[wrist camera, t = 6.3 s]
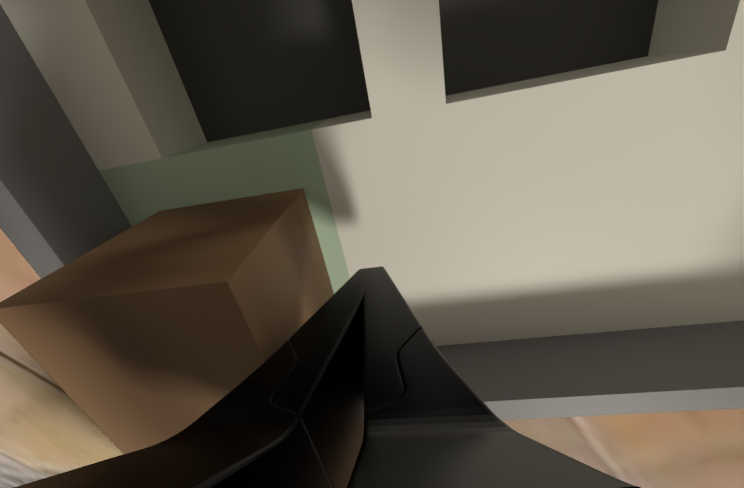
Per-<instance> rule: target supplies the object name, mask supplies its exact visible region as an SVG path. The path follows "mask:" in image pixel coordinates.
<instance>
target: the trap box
mask: <svg viewBox="0 0 744 488" xmlns="http://www.w3.org/2000/svg"><path fill="white" fill-rule="evenodd" d="M301 188H304V192H305V195H306V199H307V202H308V205H309V209H310V212H311V216H312V219H313V223H314V226H315V230H316V233H317V237H318V240H319V244H320V247H321V250H322V254H323V257H324V261H325V264H326V268H327V271H328V275H329V278H330V282H331V285H332V289H333V292H334V294H335V293H336V292H337V291H338V290H339V289H340V288H341V287H342V286H343V285H344V284H345V283H346V282H347V281H348V280H349V279H350V278H351V277H352V276H353V275H354V274H355V273H356V272H357V271H358V270H359V269H363V268H372V267H380V266H383V267H384V268H385V270H386V271H387V273H388V274H389V276H390V277H391V279H392V281H393V282H394V284H395V285H396V287H397V288H398V290H399V291H400V293H401V295H402V296H403V298H404V299H405V301H406V302H407V304H408V305H409V307H410V309H411V310H412V312H413V313H414V315H415V316H416V318H417V319H418V321H419V323H420V324H421V326H422V327H423V329H424V330H425V332H426V333H427V335H428V336H429V338H430V339H431V341H432V342H433V343H434V345H435V346H436V348H437V349H438V351H439V352H440V353H441V354H442V356H443V357H444V358H445V359H446V360H447V362H448V363H449V364H450V365H451V366H452V368H453V369H454V370H455V371H456V372H457V373H458V374H459V375H460V376H461V378H462V379H463V380H464V381H465V382H466V383H467V384H468V385H469V386H470V387H471V389H472V390H473V391H474V392H475V393H476V394H477V395H478V396H479V397H480V399H481V400H482V401H483V402H484V403H485V404H486V405H487V406H488V407H489V409H490V410H491V411H492V412H493V413H494V414H495V415H496V416H497V417H498V418H499V419H500V420H515V419H535V418H556V417H576V416H597V415H617V414H638V413H658V412H679V411H699V410H720V409H740V408H744V0H0V228H1V229H2V231H3V232H4V233H5V234H6V236H7V237H8V238H9V239H10V240H11V242H12V243H13V244H14V245H15V247H16V248H17V249H18V250H19V252H20V253H21V254H22V255H23V257H24V258H25V259H26V260H27V262H28V263H29V264H30V265H31V267H32V268H33V269H34V270H35V272H36V273H37V274H38V275H39V277H40V278H41V279H42V278H44V277H46V276H47V275H49V274H51V273H52V272H54V271H56V270H58V269H59V268H61V267H63V266H65V265H66V264H68V263H70V262H72V261H73V260H75V259H77V258H79V257H80V256H82V255H84V254H86V253H87V252H89V251H91V250H92V249H94V248H96V247H98V246H99V245H101V244H103V243H105V242H106V241H108V240H110V239H112V238H113V237H115V236H117V235H119V234H120V233H122V232H124V231H125V230H127V229H129V228H131V227H132V226H134V225H136V224H138V223H139V222H141V221H143V220H145V219H146V218H148V217H150V216H152V215H153V214H155V213H157V212H159V211H162V210H168V209H174V208H181V207H187V206H193V205H200V204H206V203H212V202H219V201H225V200H231V199H238V198H244V197H250V196H257V195H263V194H269V193H276V192H282V191H288V190H295V189H301Z"/></svg>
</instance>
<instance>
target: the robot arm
mask: <svg viewBox="0 0 744 488" xmlns="http://www.w3.org/2000/svg"><path fill="white" fill-rule="evenodd" d="M289 340H290V341H289ZM289 340H287V341H286V342H285V343H284V344H283V345H282V346H281V347H280V348H279V349H278V350H277V351H276V352H275V353H273V354H272V355H271V356H270V357H269V358H268V359H267V360H266V361H265V362H264V363H263V364H262V365H261V366H259V367H258V368H257V369H256V370H255V371H254V372H253V373H251V374H250V375H249V376H248V377H247V378H246V379H244V380H243V381H242V382H241V383H240V384H239V385H237V386H236V387H235V388H234V389H233V390H231V391H230V392H229V393H228V394H227V395H225V396H224V397H223V398H222V399H221V400H219V401H218V402H217V403H216V404H215V405H213V406H212V407H211V408H210V409H209V410H208V411H206V412H205V413H204V414H203V415H202V416H200V417H199V418H198V419H197V420H196V421H194V422H193V423H192V424H190V425H189V426H188V427H187V428H185V429H184V430H182V431H181V432H179V433H178V434H176V435H174V436H172V437H170V438H169V439H167V440H165V441H162V442H160V443H158V444H155V445H153V446H150V447H147V448H144V449H140V450H137V451H134V452H130V453H127V454H124V455H120V456H117V457H114V458H110V459H107V460H104V461H101V462H97V463H94V464H91V465H87V466H84V467H81V468H77V469H74V470H71V471H68V472H64V473H61V474H58V475H54V476H51V477H48V478H44V479H41V480H38V481H34V482H31V483H28V484H25V485H21V486H18V487H14V488H640V487H637V486H633V485H631V484H628V483H626V482H623V481H621V480H618V479H616V478H613V477H611V476H609V475H607V474H605V473H603V472H600V471H598V470H596V469H594V468H592V467H590V466H588V465H585V464H583V463H581V462H579V461H577V460H575V459H573V458H570V457H568V456H566V455H564V454H562V453H560V452H558V451H555V450H553V449H551V448H549V447H547V446H545V445H543V444H540V443H538V442H536V441H534V440H532V439H530V438H528V437H525V436H523V435H521V434H519V433H517V432H516V431H514V430H513V429H511V428H510V427H509V426H507V425H506V424H505V423H504V422H502V421H501V420H500V419H499V418H498V417H497V416H496V415H495V414H494V413H493V412H492V411H491V410H490V409H489V407H488V406H487V405H486V404H485V403H484V402H483V401H482V400H481V399H480V397H479V396H478V395H477V394H476V393H475V392H474V391H473V390H472V389H471V387H470V386H469V385H468V384H467V383H466V382H465V381H464V380H463V379H462V378H461V376H460V375H459V374H458V373H457V372H456V371H455V370H454V369H453V368H452V366H451V365H450V364H449V363H448V362H447V360H446V359H445V358H444V357H443V356H442V354H441V353H440V352H439V351H438V349H437V348H436V346H435V345H434V343H433V342H432V341H431V339H430V338H429V336H428V335H427V333H426V332H425V330H424V329H423V327H422V326H421V324H420V323H419V321H418V319H417V318H416V316H415V315H414V313H413V312H412V310H411V309H410V307H409V305H408V304H407V302H406V301H405V299H404V298H403V296H402V295H401V293H400V291H399V290H398V288H397V287H396V285H395V284H394V282H393V281H392V279H391V277H390V276H389V274H388V273H387V271H386V270H385V268H384V267H383V266H380V267H372V268H363V269H359V270H358V271H357V272H356V273H355V274H354V275H353V276H352V277H351V278H350V279H349V280H348V281H347V282H346V283H345V284H344V285H343V286H342V287H341V288H340V289H339V290H338V291H337V292H336V293H335V294H334V295H333V296H332V297H331V298H330V299H329V300H328V301H327V302H325V303H324V304H323V305H322V306H321V307H320V308H319V309H318V310H317V311H316V312H315V313H314V314H313V315H312V316H311V317H310V318H309V319H308V320H307V321H306V322H305V323H304V324H303V325H302V326H301V327H300V328H299V329H298V330H297V331H296V332H295V333H294V334H293V335H292V336H291V337H290V338H289Z"/></svg>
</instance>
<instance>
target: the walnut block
mask: <svg viewBox="0 0 744 488" xmlns="http://www.w3.org/2000/svg"><path fill="white" fill-rule="evenodd" d="M333 295H334V292H333V289H332V285H331V282H330V278H329V275H328V271H327V268H326V264H325V261H324V257H323V254H322V250H321V247H320V244H319V240H318V237H317V233H316V230H315V226H314V223H313V219H312V216H311V212H310V209H309V205H308V202H307V199H306V195H305V192H304V188H301V189H295V190H288V191H282V192H276V193H269V194H263V195H257V196H250V197H244V198H238V199H231V200H225V201H219V202H212V203H206V204H200V205H193V206H187V207H181V208H174V209H168V210H162V211H159V212H157V213H155V214H153V215H152V216H150V217H148V218H146V219H145V220H143V221H141V222H139V223H138V224H136V225H134V226H132V227H131V228H129V229H127V230H125V231H124V232H122V233H120V234H119V235H117V236H115V237H113V238H112V239H110V240H108V241H106V242H105V243H103V244H101V245H99V246H98V247H96V248H94V249H92V250H91V251H89V252H87V253H86V254H84V255H82V256H80V257H79V258H77V259H75V260H73V261H72V262H70V263H68V264H66V265H65V266H63V267H61V268H59V269H58V270H56V271H54V272H52V273H51V274H49V275H47V276H46V277H44V278H42V279H40V280H39V281H37V282H35V283H33V284H32V285H30V286H28V287H26V288H25V289H23V290H21V291H19V292H18V293H16V294H14V295H12V296H11V297H9V298H7V299H6V300H4V301H2V302H0V323H1V324H2V325H3V326H4V327H5V329H6V330H7V331H8V332H9V333H10V334H11V335H12V336H13V337H14V338H15V339H16V340H17V341H18V342H19V343H20V344H21V345H22V347H23V348H24V349H25V350H26V351H27V352H28V353H29V354H30V355H31V356H32V357H33V358H34V359H35V360H36V361H37V362H38V364H39V365H40V366H41V367H42V368H43V369H44V370H45V371H46V372H47V373H48V374H49V375H50V376H51V377H52V378H53V379H54V381H55V382H56V383H57V384H58V385H59V386H60V387H61V388H62V389H63V390H64V391H65V392H66V393H67V394H68V395H69V396H70V397H71V399H72V400H73V401H74V402H75V403H76V404H77V405H78V406H79V407H80V408H81V409H82V410H83V411H84V412H85V413H86V414H87V416H88V417H89V418H90V419H91V420H92V421H93V422H94V423H95V424H96V425H97V426H98V427H99V428H100V429H101V430H102V431H103V433H104V434H105V435H106V436H107V437H108V438H109V439H110V440H111V441H112V442H113V443H114V444H115V445H116V446H117V447H118V448H119V449H120V451H121V452H122V453H123V454H127V453H130V452H134V451H137V450H140V449H144V448H147V447H150V446H153V445H155V444H158V443H160V442H162V441H165V440H167V439H169V438H170V437H172V436H174V435H176V434H178V433H179V432H181V431H182V430H184V429H185V428H187V427H188V426H189V425H190V424H192V423H193V422H194V421H196V420H197V419H198V418H199V417H200V416H202V415H203V414H204V413H205V412H206V411H208V410H209V409H210V408H211V407H212V406H213V405H215V404H216V403H217V402H218V401H219V400H221V399H222V398H223V397H224V396H225V395H227V394H228V393H229V392H230V391H231V390H233V389H234V388H235V387H236V386H237V385H239V384H240V383H241V382H242V381H243V380H244V379H246V378H247V377H248V376H249V375H250V374H251V373H253V372H254V371H255V370H256V369H257V368H258V367H259V366H261V365H262V364H263V363H264V362H265V361H266V360H267V359H268V358H269V357H270V356H271V355H272V354H273V353H275V352H276V351H277V350H278V349H279V348H280V347H281V346H282V345H283V344H284V343H285V342H286V341H287V340H289V338H290V337H291V336H292V335H293V334H294V333H295V332H296V331H297V330H298V329H299V328H300V327H301V326H302V325H303V324H304V323H305V322H306V321H307V320H308V319H309V318H310V317H311V316H312V315H313V314H314V313H315V312H316V311H317V310H318V309H319V308H320V307H321V306H322V305H323V304H324V303H325V302H327V301H328V300H329V299H330V298H331V297H332V296H333ZM289 341H290V340H289Z"/></svg>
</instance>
